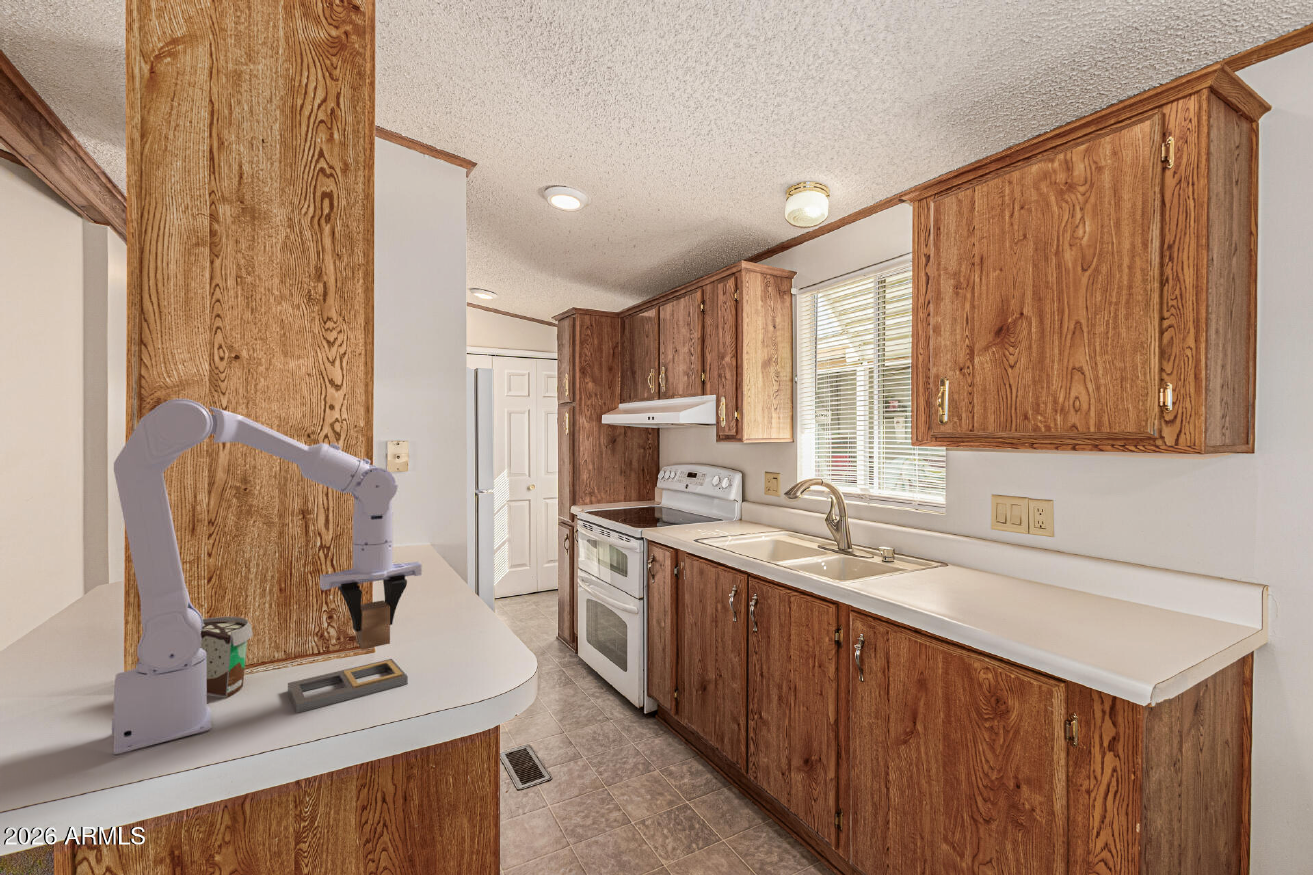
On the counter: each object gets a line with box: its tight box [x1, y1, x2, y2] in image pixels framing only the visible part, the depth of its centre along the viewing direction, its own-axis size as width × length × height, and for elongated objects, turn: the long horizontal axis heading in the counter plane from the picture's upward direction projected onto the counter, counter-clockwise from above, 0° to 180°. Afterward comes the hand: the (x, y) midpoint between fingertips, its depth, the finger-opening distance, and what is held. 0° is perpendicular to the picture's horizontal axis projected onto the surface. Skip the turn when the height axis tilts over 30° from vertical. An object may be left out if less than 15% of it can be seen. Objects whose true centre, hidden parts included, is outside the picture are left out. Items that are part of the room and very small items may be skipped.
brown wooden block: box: [355, 600, 391, 650], centre depth 91 cm, size 4×4×6 cm
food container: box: [200, 616, 254, 699], centre depth 90 cm, size 12×6×10 cm, turn 74°
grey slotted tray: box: [287, 658, 409, 714], centre depth 89 cm, size 15×9×1 cm, turn 130°
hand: (372, 626), depth 91 cm, fingers closed on brown wooden block, 4 cm apart
